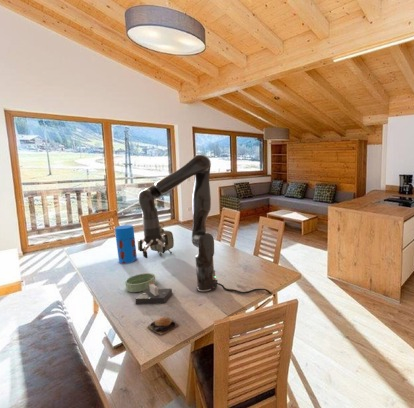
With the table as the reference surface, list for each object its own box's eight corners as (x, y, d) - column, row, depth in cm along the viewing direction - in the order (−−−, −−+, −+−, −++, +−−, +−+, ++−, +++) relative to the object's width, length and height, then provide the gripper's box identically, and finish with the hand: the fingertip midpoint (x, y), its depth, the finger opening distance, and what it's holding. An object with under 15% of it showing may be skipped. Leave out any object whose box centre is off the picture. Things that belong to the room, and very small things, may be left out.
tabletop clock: (174, 253, 212) (172, 221, 208) (166, 257, 204) (163, 224, 199) (158, 251, 215) (155, 220, 210) (149, 256, 206) (146, 223, 202)
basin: (160, 280, 167) (159, 273, 166) (148, 292, 152) (147, 284, 151) (135, 281, 166) (134, 273, 165) (120, 293, 151) (119, 285, 150)
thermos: (130, 263, 192) (126, 229, 187) (115, 263, 192) (110, 229, 187) (140, 257, 202) (136, 225, 198) (125, 257, 203) (121, 224, 198)
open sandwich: (146, 328, 122) (145, 320, 121) (165, 318, 129) (164, 311, 128) (160, 336, 116) (159, 328, 116) (178, 325, 123) (177, 318, 123)
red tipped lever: (158, 294, 144) (157, 286, 143) (155, 296, 143) (154, 287, 142) (153, 290, 148) (152, 282, 148) (149, 291, 147) (149, 283, 146)
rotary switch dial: (172, 293, 152) (172, 287, 152) (163, 303, 141) (163, 298, 141) (146, 293, 151) (145, 288, 151) (135, 304, 140) (134, 299, 140)
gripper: (139, 230, 138) (142, 261, 141) (168, 224, 148) (171, 253, 151) (133, 227, 143) (137, 257, 146) (162, 222, 153) (165, 250, 156)
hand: (154, 255), depth 149 cm, fingers open, 8 cm apart
